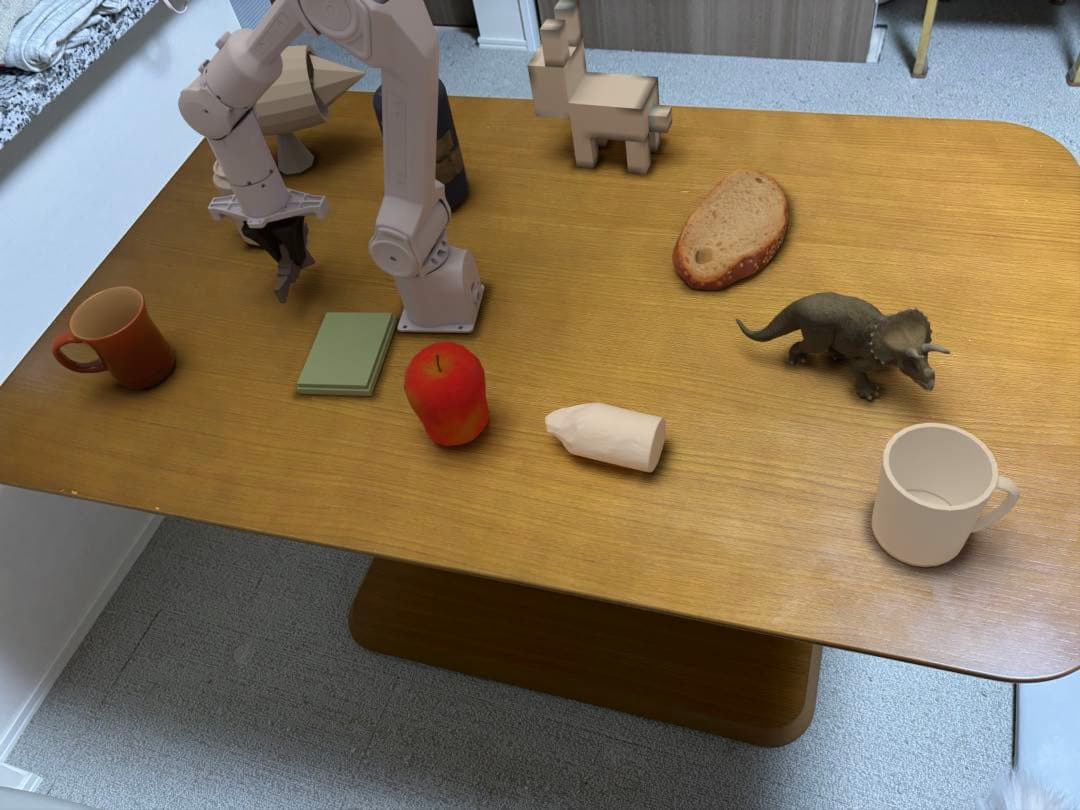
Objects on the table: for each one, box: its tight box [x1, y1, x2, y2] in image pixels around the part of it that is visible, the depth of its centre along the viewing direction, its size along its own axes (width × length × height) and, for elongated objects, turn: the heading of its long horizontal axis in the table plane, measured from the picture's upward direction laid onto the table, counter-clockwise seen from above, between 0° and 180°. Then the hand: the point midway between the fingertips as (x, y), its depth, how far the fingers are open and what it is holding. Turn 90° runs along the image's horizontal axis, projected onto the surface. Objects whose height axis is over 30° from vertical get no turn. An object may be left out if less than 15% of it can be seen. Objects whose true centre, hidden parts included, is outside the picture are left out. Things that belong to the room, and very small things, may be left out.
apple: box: [403, 340, 490, 447], centre depth 93 cm, size 9×8×12 cm
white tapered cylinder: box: [544, 401, 667, 473], centre depth 91 cm, size 6×12×6 cm, turn 68°
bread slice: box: [671, 167, 789, 291], centre depth 110 cm, size 18×18×4 cm
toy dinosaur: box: [735, 291, 952, 401], centre depth 91 cm, size 22×8×11 cm, turn 49°
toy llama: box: [526, 0, 673, 175], centre depth 118 cm, size 8×18×20 cm, turn 69°
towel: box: [296, 311, 398, 397], centre depth 107 cm, size 9×12×2 cm
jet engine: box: [256, 44, 367, 175], centre depth 128 cm, size 15×20×18 cm
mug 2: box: [871, 422, 1020, 568], centre depth 78 cm, size 11×9×10 cm
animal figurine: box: [273, 222, 316, 304], centre depth 112 cm, size 12×4×5 cm, turn 170°
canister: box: [372, 78, 469, 210], centre depth 118 cm, size 10×10×18 cm
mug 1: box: [50, 285, 175, 390], centre depth 106 cm, size 12×9×10 cm
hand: (293, 260), depth 112 cm, fingers closed on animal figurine, 2 cm apart
